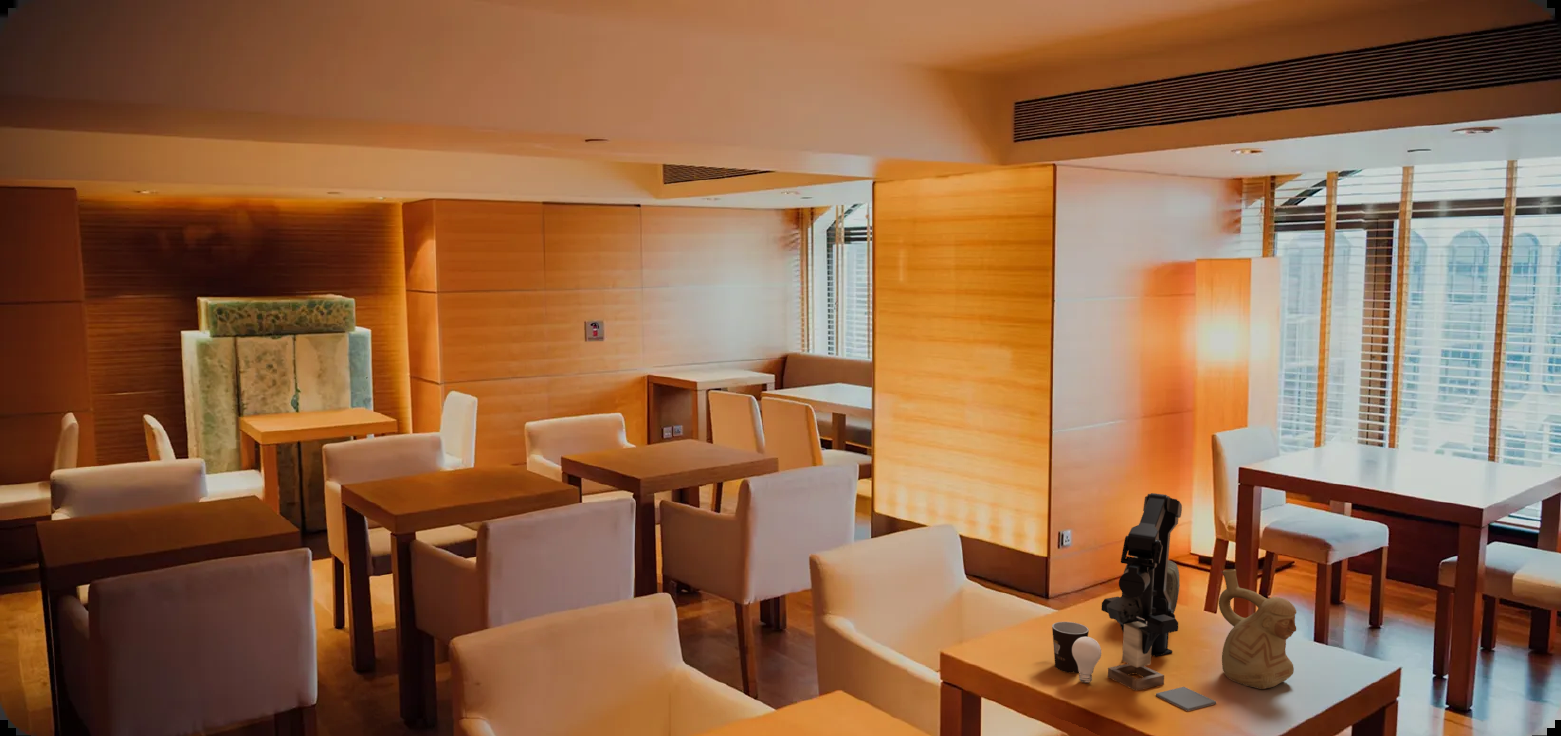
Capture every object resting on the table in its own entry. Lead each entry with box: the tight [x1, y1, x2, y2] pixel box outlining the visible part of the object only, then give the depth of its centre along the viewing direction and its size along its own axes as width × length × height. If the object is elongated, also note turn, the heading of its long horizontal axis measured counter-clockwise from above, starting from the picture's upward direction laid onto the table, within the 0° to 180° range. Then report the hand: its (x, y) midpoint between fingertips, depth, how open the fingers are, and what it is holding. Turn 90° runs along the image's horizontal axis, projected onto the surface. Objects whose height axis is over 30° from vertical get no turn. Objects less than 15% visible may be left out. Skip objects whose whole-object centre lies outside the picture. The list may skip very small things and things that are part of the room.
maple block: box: [1121, 621, 1152, 667], centre depth 241 cm, size 4×4×9 cm
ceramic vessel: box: [1218, 568, 1297, 690], centre depth 243 cm, size 17×20×25 cm
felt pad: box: [1155, 686, 1217, 712], centre depth 231 cm, size 9×9×1 cm
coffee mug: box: [1051, 621, 1090, 674], centre depth 250 cm, size 12×9×10 cm
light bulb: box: [1072, 636, 1102, 684], centre depth 239 cm, size 7×7×11 cm
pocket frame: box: [1107, 663, 1165, 691], centre depth 242 cm, size 9×9×2 cm
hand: (1137, 649), depth 241 cm, fingers closed on maple block, 4 cm apart
